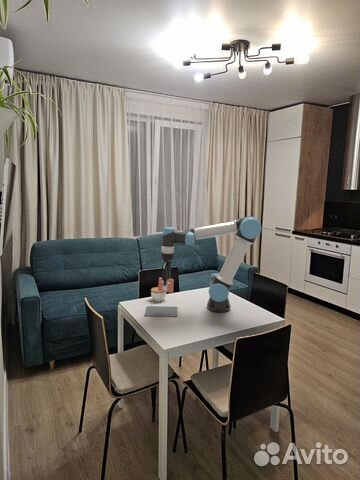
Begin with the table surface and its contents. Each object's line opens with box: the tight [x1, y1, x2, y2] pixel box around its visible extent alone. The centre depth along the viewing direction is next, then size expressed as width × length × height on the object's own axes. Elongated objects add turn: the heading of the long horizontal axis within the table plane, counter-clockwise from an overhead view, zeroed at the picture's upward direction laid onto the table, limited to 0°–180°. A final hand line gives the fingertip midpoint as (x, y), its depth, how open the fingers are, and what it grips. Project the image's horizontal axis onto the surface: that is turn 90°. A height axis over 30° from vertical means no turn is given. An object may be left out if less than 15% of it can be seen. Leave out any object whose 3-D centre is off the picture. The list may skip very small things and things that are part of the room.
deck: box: [157, 277, 175, 293], centre depth 201 cm, size 2×9×8 cm, turn 75°
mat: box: [143, 305, 178, 318], centre depth 204 cm, size 20×16×1 cm
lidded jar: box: [150, 286, 167, 302], centre depth 225 cm, size 11×11×9 cm
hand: (165, 289), depth 202 cm, fingers closed on deck, 2 cm apart
